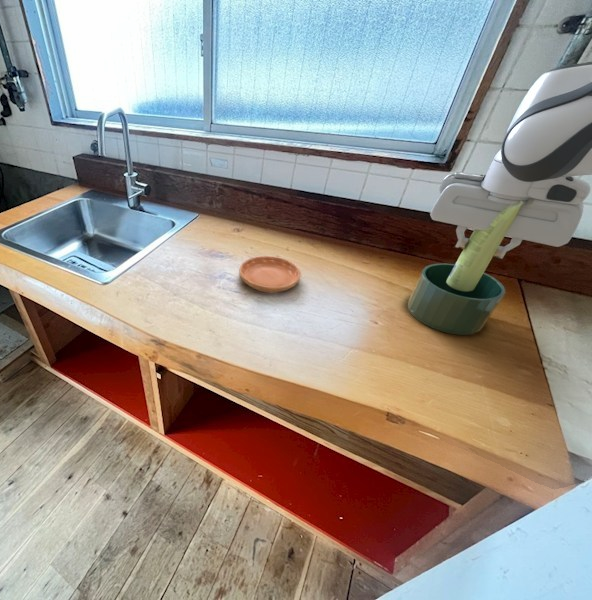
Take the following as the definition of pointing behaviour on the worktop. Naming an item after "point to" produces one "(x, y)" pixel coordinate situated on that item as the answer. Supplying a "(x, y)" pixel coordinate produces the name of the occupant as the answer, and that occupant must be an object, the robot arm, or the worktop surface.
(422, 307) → the vessel
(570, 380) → the worktop surface
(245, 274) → the saucer
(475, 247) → the tube
